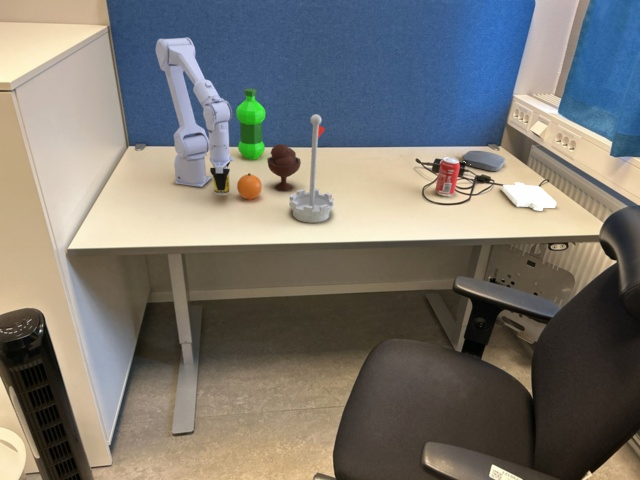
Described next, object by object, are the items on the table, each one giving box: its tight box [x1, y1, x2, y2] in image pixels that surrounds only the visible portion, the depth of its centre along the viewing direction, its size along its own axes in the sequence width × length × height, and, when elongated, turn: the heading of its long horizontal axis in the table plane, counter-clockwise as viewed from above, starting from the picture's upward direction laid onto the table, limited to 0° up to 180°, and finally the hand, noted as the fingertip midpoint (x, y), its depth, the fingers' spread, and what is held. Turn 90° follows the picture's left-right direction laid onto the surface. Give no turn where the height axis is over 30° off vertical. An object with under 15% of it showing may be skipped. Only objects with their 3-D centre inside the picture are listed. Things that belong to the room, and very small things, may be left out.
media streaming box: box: [461, 150, 506, 172], centre depth 186 cm, size 15×15×3 cm
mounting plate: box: [501, 182, 557, 212], centre depth 159 cm, size 18×13×2 cm
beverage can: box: [435, 156, 461, 197], centre depth 157 cm, size 6×6×12 cm
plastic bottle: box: [235, 88, 266, 160], centre depth 172 cm, size 10×10×25 cm
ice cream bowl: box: [267, 143, 302, 192], centre depth 153 cm, size 11×11×15 cm
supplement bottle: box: [212, 166, 231, 196], centre depth 144 cm, size 5×5×8 cm
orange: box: [236, 173, 263, 201], centre depth 146 cm, size 8×8×8 cm
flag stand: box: [289, 113, 335, 224], centre depth 133 cm, size 13×13×30 cm
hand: (221, 186), depth 145 cm, fingers closed on supplement bottle, 5 cm apart
